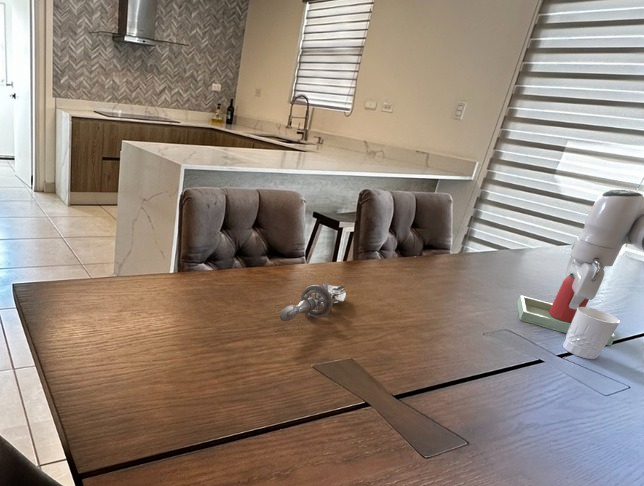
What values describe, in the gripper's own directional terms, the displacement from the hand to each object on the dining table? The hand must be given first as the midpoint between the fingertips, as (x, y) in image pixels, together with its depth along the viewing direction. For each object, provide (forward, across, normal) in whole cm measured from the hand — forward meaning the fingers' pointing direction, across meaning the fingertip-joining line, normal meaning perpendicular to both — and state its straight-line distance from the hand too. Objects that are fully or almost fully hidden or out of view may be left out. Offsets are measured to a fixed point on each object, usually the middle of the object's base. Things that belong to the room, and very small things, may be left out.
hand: (570, 302), depth 124 cm
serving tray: (+6, 0, 0) cm, 6 cm away
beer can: (+5, 0, 0) cm, 5 cm away
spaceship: (+6, -46, +55) cm, 72 cm away
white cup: (+6, -17, -2) cm, 18 cm away
